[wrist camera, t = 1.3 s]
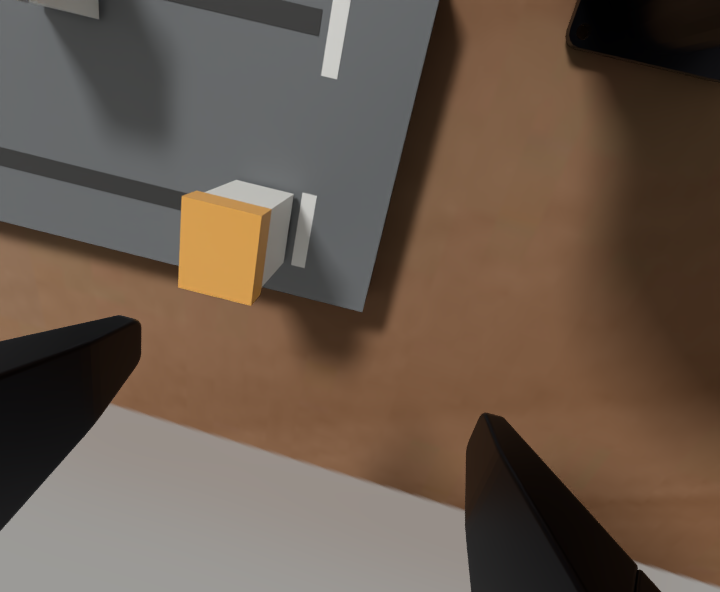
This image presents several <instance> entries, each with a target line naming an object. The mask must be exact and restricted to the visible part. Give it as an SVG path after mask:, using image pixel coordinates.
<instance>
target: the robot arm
mask: <svg viewBox="0 0 720 592" xmlns="http://www.w3.org/2000/svg"><path fill="white" fill-rule="evenodd" d="M580 25H584V26H585V27H586V28H587V30H588V33H587V36H586V38H585V39H584V40H580V39H579V38H578V37H577V35H576V32H577V29H578V27H579V26H580ZM566 42H567V43H568V45H569V46H570V47H572V48H574V49H577V50H581V51H586V52H590V53H594V54H598V55H603V56H607V57H611V58H616V59H620V60H624V61H628V62H633V63H637V64H641V65H646V66H650V67H654V68H659V69H663V70H667V71H671V72H676V73H680V74H684V75H689V76H693V77H697V78H701V79H706V80H710V81H714V82H719V83H720V0H577V3H576V6H575V9H574V11H573V14H572V17H571V20H570V22H569V25H568V28H567V31H566ZM140 357H141V324H140V322H139V321H138V320H136V319H133V318H129V317H125V316H121V315H118V316H113V317H108V318H104V319H99V320H95V321H90V322H86V323H81V324H77V325H72V326H68V327H63V328H59V329H54V330H50V331H45V332H40V333H36V334H31V335H27V336H22V337H18V338H13V339H9V340H4V341H0V531H1V530H2V529H3V527H4V526H5V525H6V524H7V523H8V522H9V521H10V519H11V518H12V517H13V516H14V515H15V514H16V513H17V512H18V510H19V509H20V508H21V507H22V506H23V505H24V504H25V502H26V501H27V500H28V499H29V498H30V497H31V496H32V495H33V493H34V492H35V491H36V490H37V489H38V488H39V487H40V485H41V484H42V483H43V482H44V481H45V480H46V479H47V477H48V476H49V475H50V474H51V473H52V472H53V471H54V470H55V468H56V467H57V466H58V465H59V464H60V463H61V462H62V461H63V460H64V458H65V457H66V456H67V455H68V454H69V453H70V452H71V450H72V449H73V448H74V447H75V446H76V445H77V444H78V443H79V441H80V440H81V439H82V438H83V437H84V436H85V435H86V433H87V432H88V431H89V430H90V429H91V428H92V426H93V425H94V424H95V423H96V421H97V420H98V419H99V417H100V416H101V415H102V414H103V412H104V411H105V409H106V408H107V407H108V405H109V404H110V402H111V401H112V400H113V398H114V397H115V395H116V394H117V393H118V391H119V390H120V388H121V387H122V386H123V384H124V383H125V381H126V380H127V379H128V377H129V376H130V374H131V373H132V372H133V370H134V369H135V367H136V366H137V364H138V362H139V360H140ZM465 530H466V542H467V553H468V563H469V573H470V583H471V592H661V591H660V590H659V589H658V588H657V587H656V586H655V584H654V583H653V582H652V581H651V580H650V579H649V578H648V577H647V576H646V574H645V573H644V572H643V571H642V570H637V569H638V567H637V565H636V563H635V562H634V561H633V560H632V559H631V558H630V557H629V556H628V555H627V554H626V552H625V551H624V550H623V549H622V548H621V547H620V546H619V545H618V544H617V542H616V541H615V540H614V539H613V538H612V537H611V536H610V535H609V534H608V533H607V531H606V530H605V529H604V528H603V527H602V526H601V525H600V524H599V523H598V521H597V520H596V519H595V518H594V517H593V516H592V515H591V514H590V513H589V511H588V510H587V509H586V508H585V507H584V506H583V505H582V504H581V503H580V502H579V500H578V499H577V498H576V497H575V496H574V495H573V494H572V493H571V492H570V490H569V489H568V488H567V487H566V486H565V485H564V484H563V483H562V482H561V480H560V479H559V478H558V477H557V476H556V475H555V474H554V473H553V472H552V471H551V469H550V468H549V467H548V466H547V465H546V464H545V463H544V462H543V461H542V459H541V458H540V457H539V456H538V455H537V454H536V453H535V452H534V451H533V449H532V448H531V447H530V446H529V445H528V444H527V443H526V442H525V441H524V440H523V438H522V437H521V436H520V435H519V434H518V433H517V432H516V431H515V430H514V428H513V427H512V426H511V425H510V424H509V423H508V422H507V421H506V420H505V419H504V418H503V417H501V416H497V415H494V414H490V413H483V414H481V416H480V417H479V419H478V421H477V424H476V426H475V428H474V430H473V433H472V435H471V437H470V439H469V442H468V445H467V450H466V489H465Z"/></svg>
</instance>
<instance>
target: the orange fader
mask: <svg viewBox="0 0 720 592" xmlns="http://www.w3.org/2000/svg"><path fill="white" fill-rule="evenodd" d="M293 196H294V194H292V193H288V192H284V191H280V190H276V189H272V188H268V187H264V186H260V185H255V184H251V183H247V182H243V181H239V180H235V181H232V182H229V183H227V184H224V185H222V186H219V187H217V188H214V189H211V190H209V191H206V192H201V191H194V192H191V193H189V194H186V195H183V196H182V200H181V226H180V252H179V278H178V287H179V288H183V289H187V290H190V291H194V292H198V293H202V294H206V295H210V296H214V297H218V298H222V299H226V300H230V301H234V302H238V303H242V304H246V305H250V306H251V305H252V304H253V303H254V302H255V300H256V299H257V298H258V297H259V296H260V295H261V288H262V286H263V285H264V284H265V283H266V282H267V281H268V280H269V278H270V277H271V276H272V275H273V274H274V273H275V272H276V271H277V269H278V268H279V267H280V266H281V265H282V264H283V263H284V256H285V250H286V243H287V236H288V230H289V223H290V216H291V210H292V203H293Z"/></svg>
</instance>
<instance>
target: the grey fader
mask: <svg viewBox="0 0 720 592" xmlns="http://www.w3.org/2000/svg"><path fill="white" fill-rule="evenodd" d="M16 1H20V2H25V3H33V4H36V5H40V6H45V7H49V8H53V9H57V10H61V11H66V12H70V13H74V14H78V15H82V16H87V17H91V18H95V19H99V2H98V0H16Z"/></svg>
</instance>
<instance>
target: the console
mask: <svg viewBox="0 0 720 592" xmlns="http://www.w3.org/2000/svg"><path fill="white" fill-rule="evenodd" d="M439 1H440V0H98V2H99V19H95V18H91V17H87V16H82V15H78V14H74V13H70V12H66V11H61V10H57V9H53V8H49V7H45V6H40V5H36V4H33V3H25V2H20V1H16V0H0V221H3V222H7V223H11V224H15V225H18V226H22V227H26V228H30V229H34V230H38V231H42V232H46V233H50V234H54V235H58V236H62V237H66V238H70V239H74V240H78V241H82V242H86V243H90V244H94V245H98V246H102V247H106V248H110V249H114V250H118V251H121V252H125V253H129V254H133V255H137V256H141V257H145V258H149V259H153V260H157V261H161V262H165V263H169V264H173V265H177V266H179V252H180V226H181V200H182V196H183V195H186V194H189V193H191V192H194V191H201V192H206V191H209V190H211V189H214V188H217V187H219V186H222V185H224V184H227V183H229V182H232V181H235V180H239V181H243V182H247V183H251V184H255V185H260V186H264V187H268V188H272V189H276V190H280V191H284V192H288V193H292V194H294V196H293V203H292V210H291V216H290V223H289V230H288V236H287V243H286V250H285V256H284V263H283V264H282V265H281V266H280V267H279V268H278V269H277V271H276V272H275V273H274V274H273V275H272V276H271V277H270V278H269V280H268V281H267V282H266V283H265V284H264V285H263V286H262V287H264V288H268V289H272V290H276V291H280V292H284V293H288V294H292V295H296V296H300V297H304V298H308V299H312V300H316V301H320V302H324V303H328V304H331V305H335V306H339V307H343V308H347V309H351V310H355V311H359V312H362V311H363V308H364V304H365V300H366V297H367V293H368V289H369V285H370V281H371V277H372V273H373V269H374V265H375V260H376V256H377V252H378V248H379V244H380V240H381V236H382V232H383V228H384V224H385V220H386V216H387V212H388V208H389V204H390V200H391V196H392V192H393V187H394V183H395V179H396V175H397V171H398V167H399V163H400V159H401V155H402V151H403V147H404V143H405V139H406V135H407V131H408V127H409V123H410V118H411V114H412V110H413V106H414V102H415V98H416V94H417V90H418V86H419V82H420V78H421V74H422V70H423V66H424V62H425V58H426V54H427V49H428V45H429V41H430V37H431V33H432V29H433V25H434V21H435V17H436V13H437V9H438V5H439Z"/></svg>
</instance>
